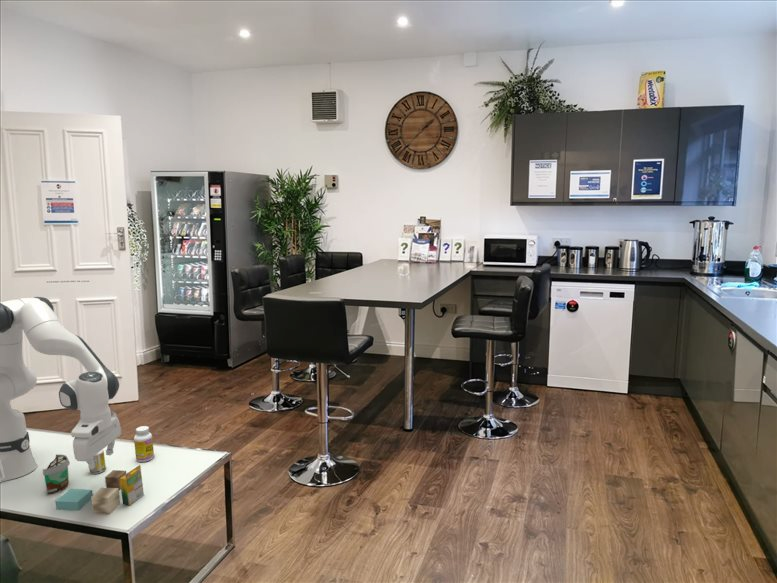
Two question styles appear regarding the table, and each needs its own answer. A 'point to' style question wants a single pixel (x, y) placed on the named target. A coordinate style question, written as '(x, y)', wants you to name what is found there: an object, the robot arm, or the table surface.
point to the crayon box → (131, 486)
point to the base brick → (74, 499)
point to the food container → (57, 474)
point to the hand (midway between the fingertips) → (101, 461)
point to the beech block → (105, 500)
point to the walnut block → (114, 479)
